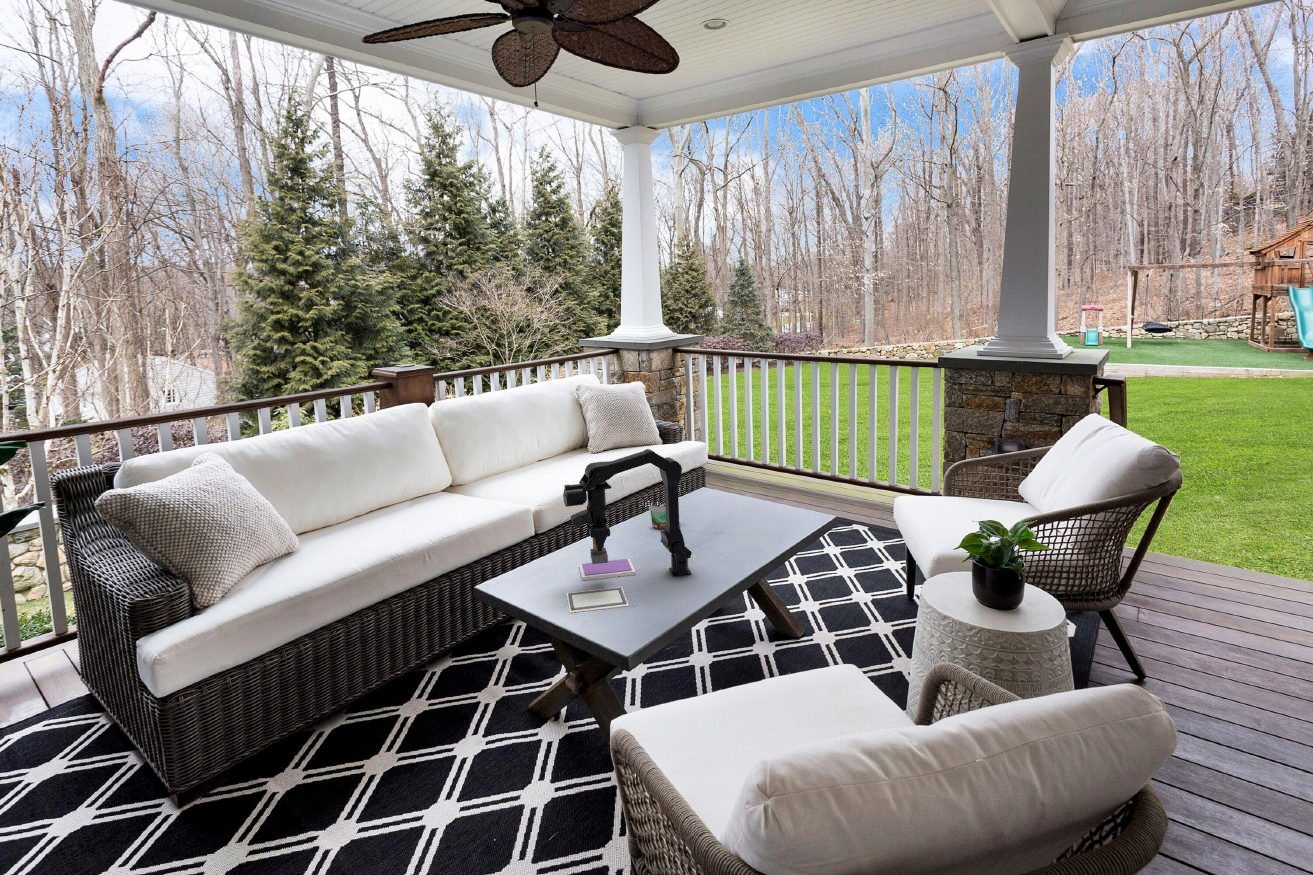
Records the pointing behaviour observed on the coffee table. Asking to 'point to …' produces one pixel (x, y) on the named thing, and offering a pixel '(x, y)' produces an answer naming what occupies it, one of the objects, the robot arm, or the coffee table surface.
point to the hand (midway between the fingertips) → (598, 548)
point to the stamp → (598, 554)
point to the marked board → (596, 599)
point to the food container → (658, 516)
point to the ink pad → (606, 569)
